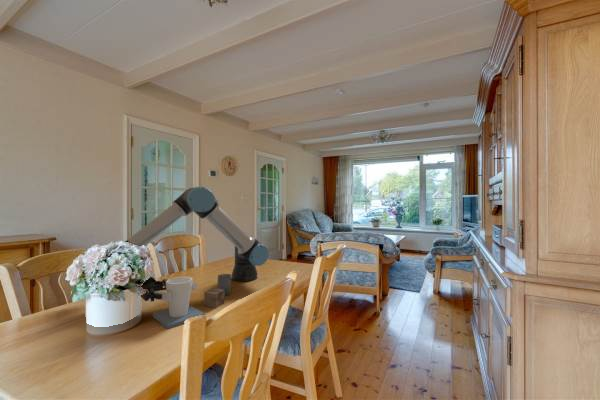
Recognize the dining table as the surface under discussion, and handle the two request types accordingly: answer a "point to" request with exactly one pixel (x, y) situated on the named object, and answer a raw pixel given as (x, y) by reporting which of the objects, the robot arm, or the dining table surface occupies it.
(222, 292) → the walnut block
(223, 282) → the charcoal cylinder
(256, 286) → the dining table surface
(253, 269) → the robot arm
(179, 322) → the slate board
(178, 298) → the foam cup
